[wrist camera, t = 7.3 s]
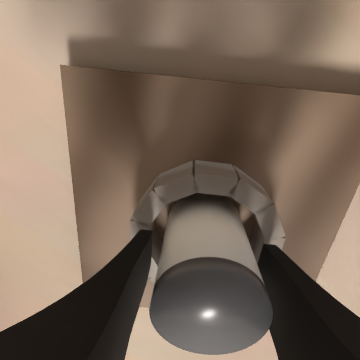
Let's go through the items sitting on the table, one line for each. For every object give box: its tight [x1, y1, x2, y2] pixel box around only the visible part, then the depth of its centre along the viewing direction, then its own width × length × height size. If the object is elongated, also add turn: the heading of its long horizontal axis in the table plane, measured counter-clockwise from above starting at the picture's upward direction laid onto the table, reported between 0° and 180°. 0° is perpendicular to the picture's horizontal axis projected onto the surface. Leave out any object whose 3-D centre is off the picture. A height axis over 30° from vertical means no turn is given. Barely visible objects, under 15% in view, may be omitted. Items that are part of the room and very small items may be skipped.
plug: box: [149, 193, 273, 355], centre depth 11 cm, size 4×4×6 cm
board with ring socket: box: [60, 65, 360, 308], centre depth 13 cm, size 16×16×3 cm
